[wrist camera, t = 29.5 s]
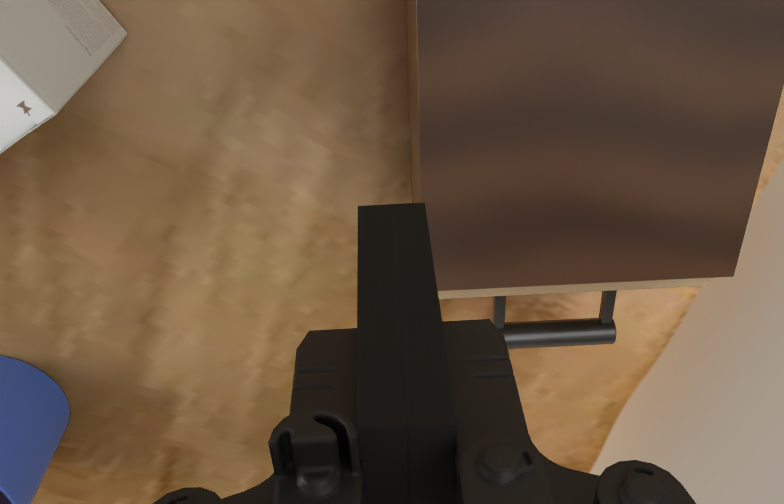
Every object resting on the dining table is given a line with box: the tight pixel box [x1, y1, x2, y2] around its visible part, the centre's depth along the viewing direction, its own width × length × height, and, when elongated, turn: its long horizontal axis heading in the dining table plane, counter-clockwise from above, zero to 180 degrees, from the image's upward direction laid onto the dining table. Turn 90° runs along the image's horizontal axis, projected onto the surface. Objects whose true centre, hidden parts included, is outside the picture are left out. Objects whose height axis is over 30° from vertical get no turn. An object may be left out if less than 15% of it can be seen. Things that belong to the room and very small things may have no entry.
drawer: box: [438, 278, 710, 349], centre depth 37 cm, size 20×14×8 cm
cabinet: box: [406, 0, 784, 291], centre depth 34 cm, size 16×15×10 cm
